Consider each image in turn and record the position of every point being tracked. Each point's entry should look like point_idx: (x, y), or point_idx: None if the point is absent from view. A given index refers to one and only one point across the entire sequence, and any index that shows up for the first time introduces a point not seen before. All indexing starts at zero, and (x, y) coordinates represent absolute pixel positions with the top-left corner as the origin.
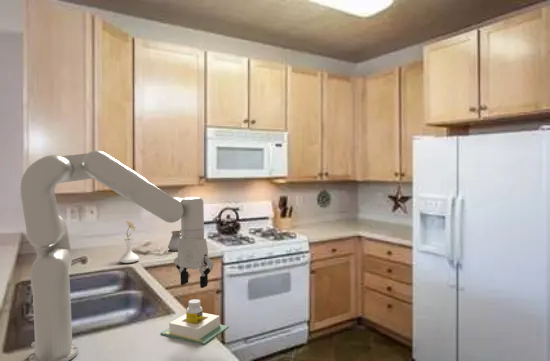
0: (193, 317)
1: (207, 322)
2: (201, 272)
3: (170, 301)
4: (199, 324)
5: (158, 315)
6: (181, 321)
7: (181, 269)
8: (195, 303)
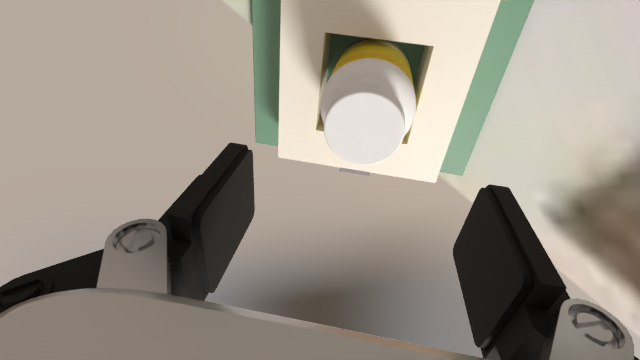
0: (351, 57)
1: (285, 73)
2: (139, 262)
3: (612, 300)
4: (309, 37)
5: (630, 180)
6: (429, 42)
7: (580, 356)
8: (337, 100)
